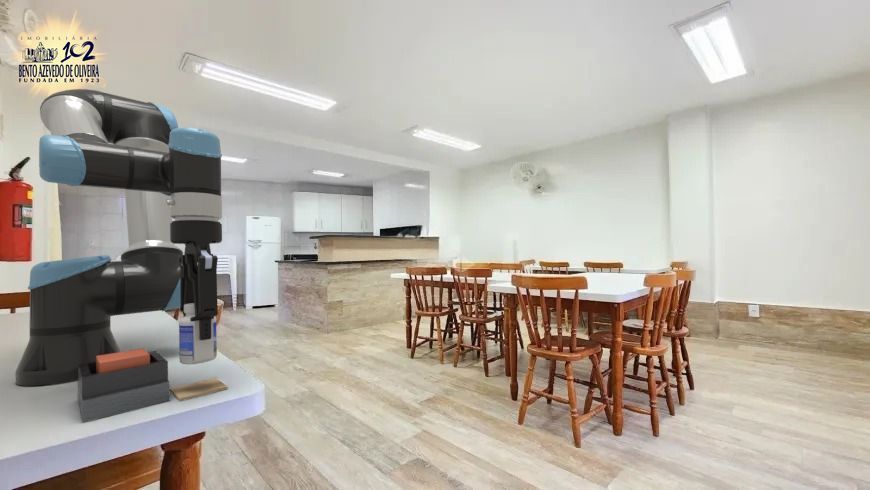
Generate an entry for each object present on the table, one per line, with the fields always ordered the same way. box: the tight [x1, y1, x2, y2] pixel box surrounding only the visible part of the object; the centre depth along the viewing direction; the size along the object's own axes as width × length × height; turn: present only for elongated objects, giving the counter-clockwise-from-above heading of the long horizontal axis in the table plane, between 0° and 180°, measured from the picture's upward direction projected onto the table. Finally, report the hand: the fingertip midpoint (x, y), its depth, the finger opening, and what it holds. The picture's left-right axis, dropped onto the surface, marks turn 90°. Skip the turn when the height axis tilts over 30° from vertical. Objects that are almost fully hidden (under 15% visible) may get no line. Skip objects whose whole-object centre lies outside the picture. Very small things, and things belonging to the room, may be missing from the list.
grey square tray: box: [77, 350, 171, 423], centre depth 59 cm, size 12×10×6 cm
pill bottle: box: [178, 303, 218, 365], centre depth 63 cm, size 5×5×10 cm
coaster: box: [170, 377, 229, 402], centre depth 63 cm, size 7×7×1 cm
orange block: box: [96, 347, 150, 374], centre depth 59 cm, size 6×6×5 cm
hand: (198, 355), depth 63 cm, fingers closed on pill bottle, 5 cm apart
